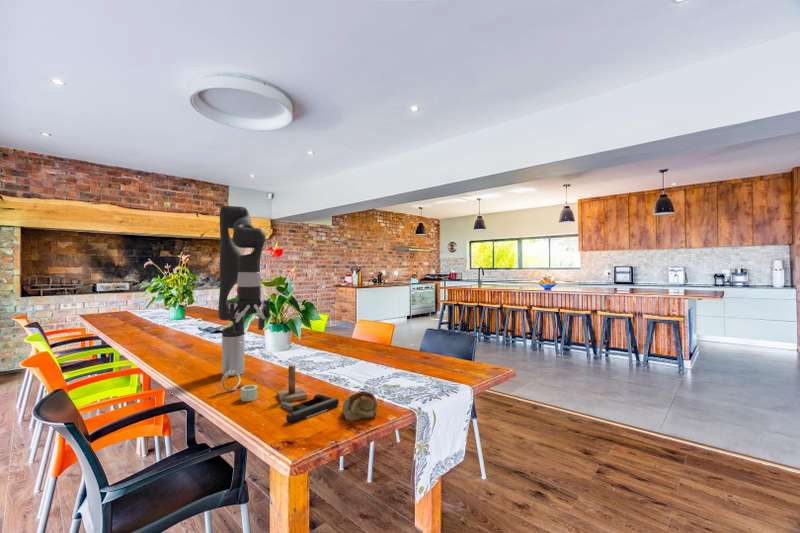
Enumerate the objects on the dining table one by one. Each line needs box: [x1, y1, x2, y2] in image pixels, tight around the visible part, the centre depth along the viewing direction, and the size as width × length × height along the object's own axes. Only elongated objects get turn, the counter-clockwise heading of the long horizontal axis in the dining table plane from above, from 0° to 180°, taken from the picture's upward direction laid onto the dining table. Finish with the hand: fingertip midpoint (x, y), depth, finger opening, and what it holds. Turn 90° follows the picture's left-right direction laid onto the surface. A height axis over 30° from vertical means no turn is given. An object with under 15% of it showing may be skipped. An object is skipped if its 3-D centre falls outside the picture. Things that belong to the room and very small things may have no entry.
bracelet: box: [221, 370, 242, 392], centre depth 142 cm, size 7×3×8 cm, turn 132°
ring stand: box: [276, 364, 308, 403], centre depth 136 cm, size 9×9×12 cm
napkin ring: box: [240, 384, 259, 402], centre depth 134 cm, size 6×6×4 cm
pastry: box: [342, 390, 378, 421], centre depth 122 cm, size 14×12×8 cm
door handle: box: [280, 394, 340, 424], centre depth 125 cm, size 3×20×16 cm
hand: (249, 331), depth 128 cm, fingers open, 8 cm apart
